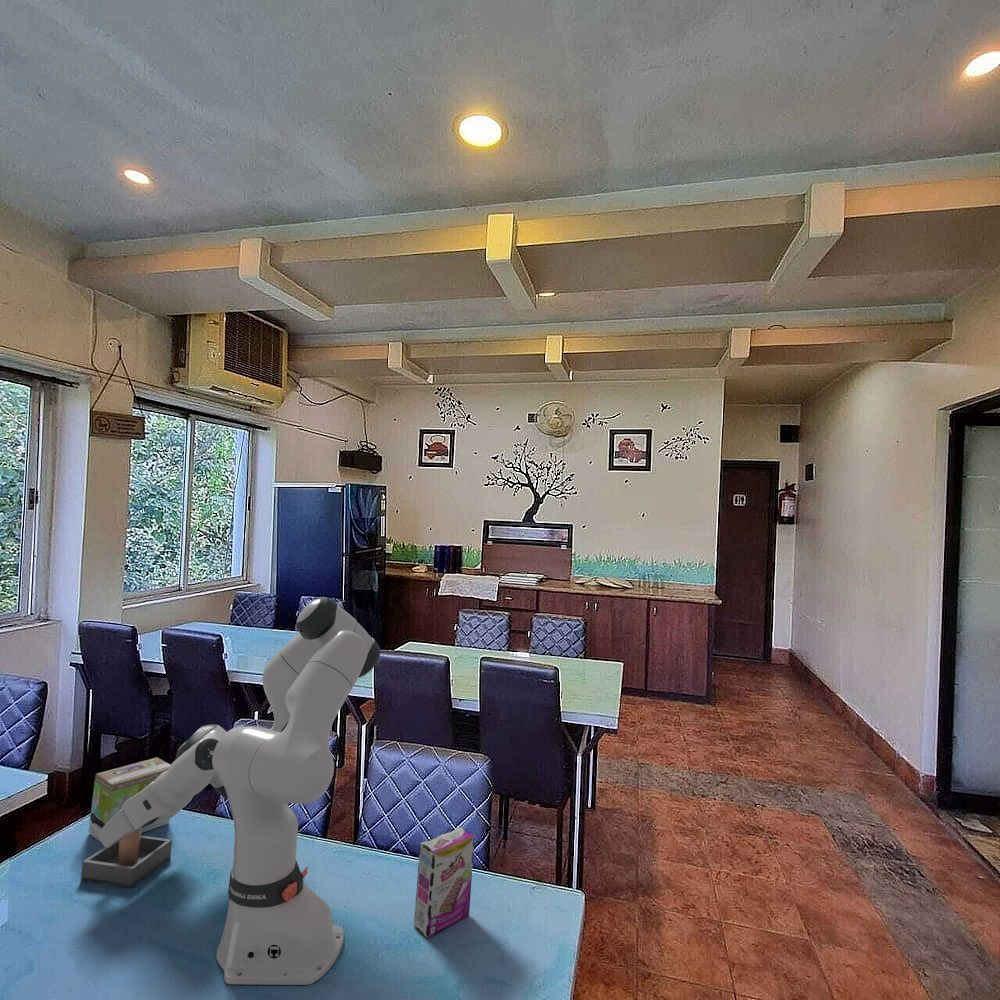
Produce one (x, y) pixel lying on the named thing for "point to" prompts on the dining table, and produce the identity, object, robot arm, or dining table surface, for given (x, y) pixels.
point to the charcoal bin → (111, 873)
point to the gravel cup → (129, 849)
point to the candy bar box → (444, 881)
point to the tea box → (122, 791)
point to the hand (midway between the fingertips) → (128, 833)
